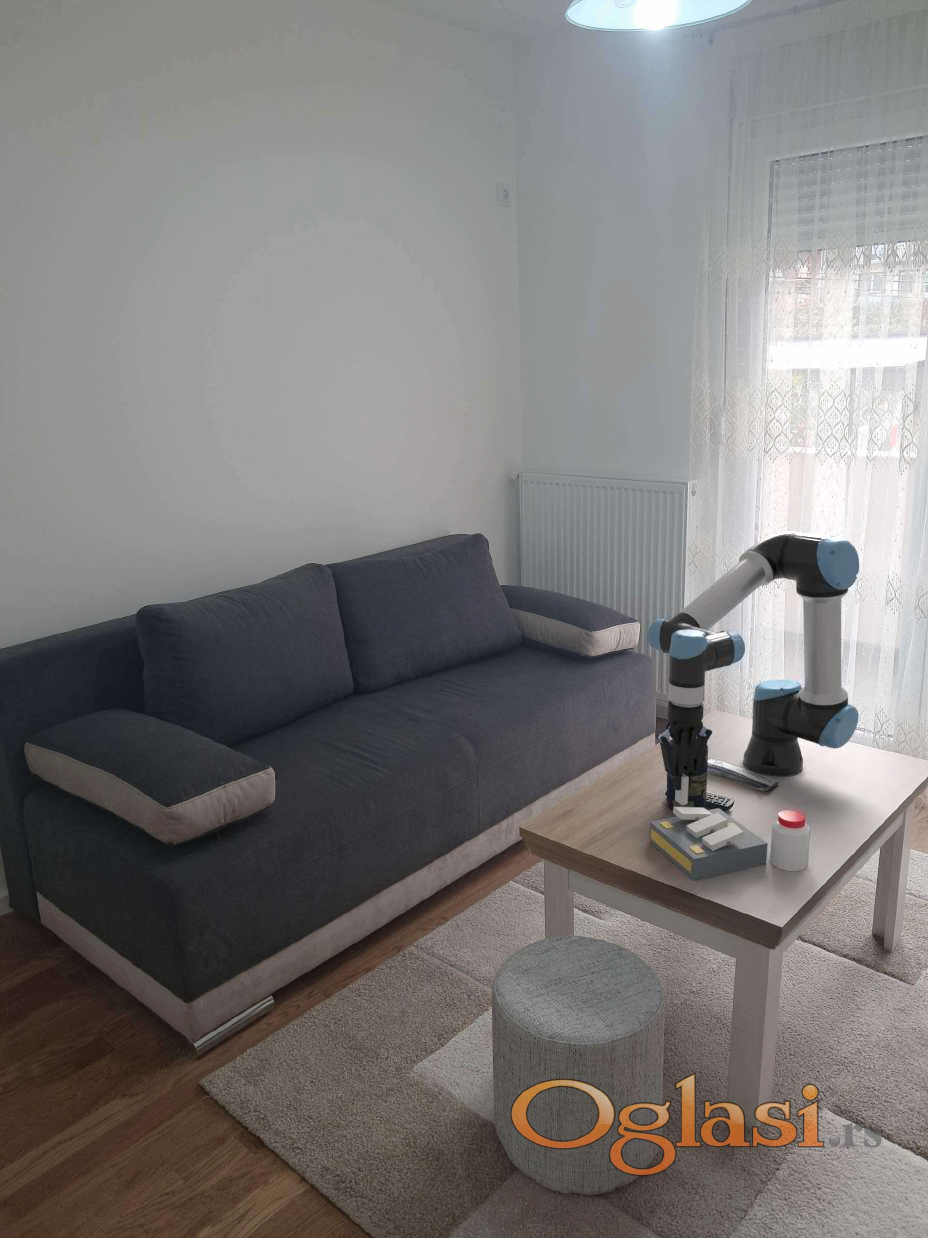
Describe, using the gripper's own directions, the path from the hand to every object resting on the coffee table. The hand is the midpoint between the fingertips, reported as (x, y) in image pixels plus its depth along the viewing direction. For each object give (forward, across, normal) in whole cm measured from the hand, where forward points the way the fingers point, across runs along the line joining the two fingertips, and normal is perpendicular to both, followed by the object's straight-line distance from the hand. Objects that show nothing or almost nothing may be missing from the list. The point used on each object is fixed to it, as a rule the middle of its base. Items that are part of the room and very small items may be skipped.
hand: (681, 802), depth 209 cm
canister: (+10, -11, -15) cm, 21 cm away
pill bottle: (+10, -17, +16) cm, 26 cm away
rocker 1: (+4, -3, 0) cm, 5 cm away
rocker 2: (+4, -3, +6) cm, 8 cm away
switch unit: (+10, -3, +6) cm, 12 cm away
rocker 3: (+4, -3, +12) cm, 13 cm away
